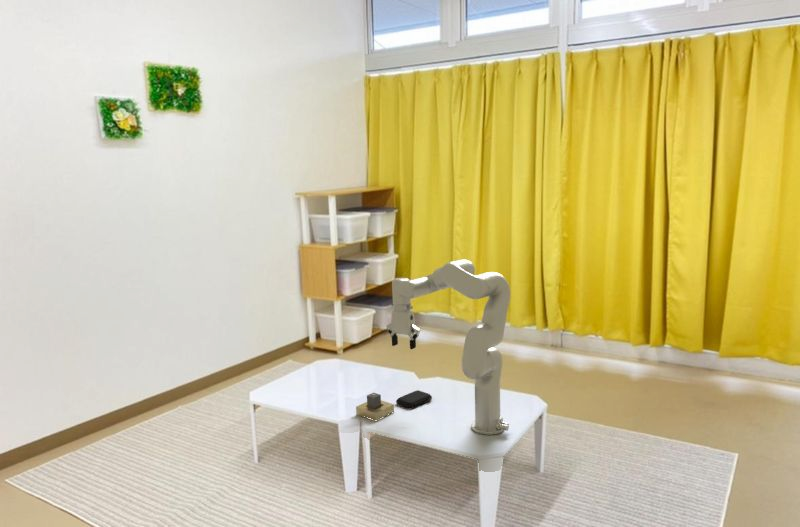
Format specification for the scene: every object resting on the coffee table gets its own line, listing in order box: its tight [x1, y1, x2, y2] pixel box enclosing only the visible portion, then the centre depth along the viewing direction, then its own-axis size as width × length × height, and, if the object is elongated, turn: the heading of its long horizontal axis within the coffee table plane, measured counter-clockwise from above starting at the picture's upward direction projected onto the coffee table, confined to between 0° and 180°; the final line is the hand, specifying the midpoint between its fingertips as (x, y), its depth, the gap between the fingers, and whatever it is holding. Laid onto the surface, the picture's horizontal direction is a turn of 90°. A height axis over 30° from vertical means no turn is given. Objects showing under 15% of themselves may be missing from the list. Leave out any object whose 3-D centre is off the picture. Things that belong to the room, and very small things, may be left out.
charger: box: [366, 392, 382, 409], centre depth 227 cm, size 4×4×8 cm
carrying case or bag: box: [395, 390, 433, 409], centre depth 239 cm, size 11×3×15 cm
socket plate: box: [355, 400, 395, 421], centre depth 228 cm, size 11×11×4 cm
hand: (403, 346), depth 235 cm, fingers open, 9 cm apart
